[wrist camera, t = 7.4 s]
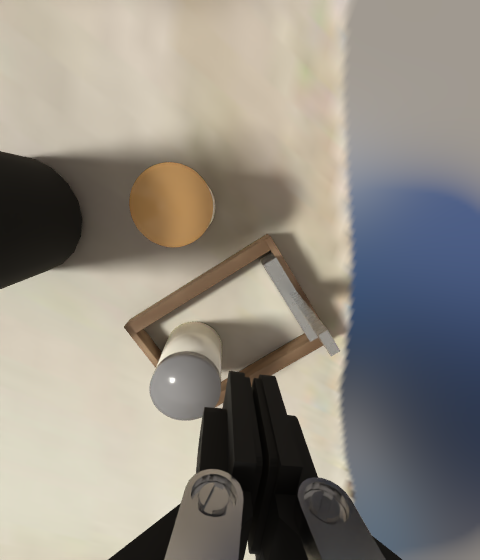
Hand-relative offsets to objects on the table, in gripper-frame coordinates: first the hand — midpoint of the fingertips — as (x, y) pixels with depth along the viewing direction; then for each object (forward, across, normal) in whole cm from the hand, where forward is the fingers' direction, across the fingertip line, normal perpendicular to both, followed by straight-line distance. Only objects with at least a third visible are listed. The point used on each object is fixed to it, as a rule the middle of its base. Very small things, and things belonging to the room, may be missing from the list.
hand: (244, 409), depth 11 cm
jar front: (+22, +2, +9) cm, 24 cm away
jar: (+22, +5, -6) cm, 23 cm away
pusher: (+22, -6, +2) cm, 23 cm away
